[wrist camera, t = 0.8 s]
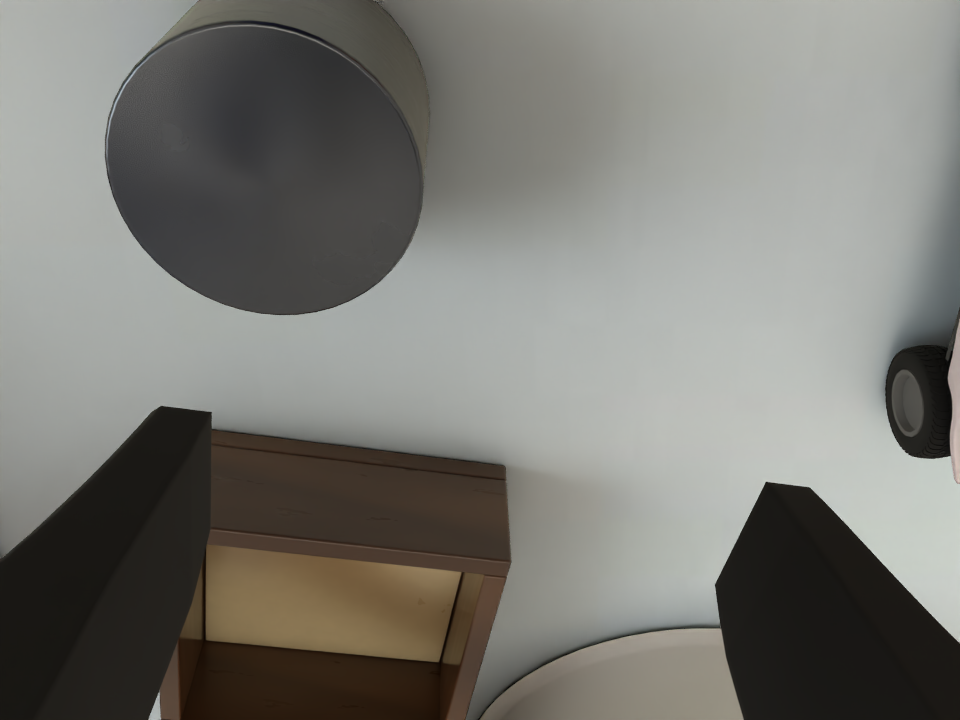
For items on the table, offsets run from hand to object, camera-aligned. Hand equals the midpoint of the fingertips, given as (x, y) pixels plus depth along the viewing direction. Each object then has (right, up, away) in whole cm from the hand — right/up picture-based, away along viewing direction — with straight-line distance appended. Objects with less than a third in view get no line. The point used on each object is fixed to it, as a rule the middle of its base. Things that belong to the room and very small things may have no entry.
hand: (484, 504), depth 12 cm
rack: (-6, -11, +20) cm, 24 cm away
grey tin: (-4, +7, +7) cm, 11 cm away
